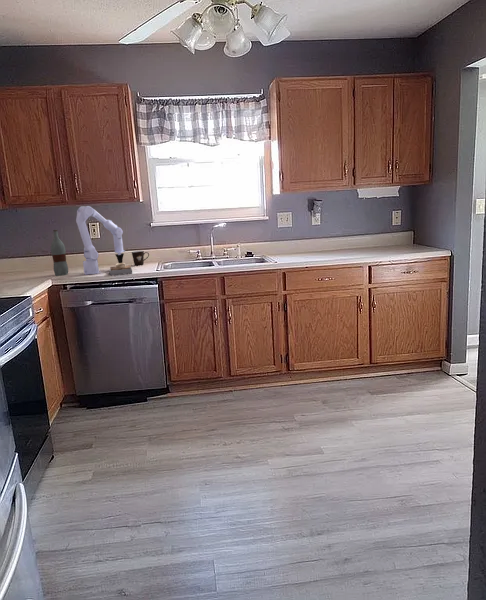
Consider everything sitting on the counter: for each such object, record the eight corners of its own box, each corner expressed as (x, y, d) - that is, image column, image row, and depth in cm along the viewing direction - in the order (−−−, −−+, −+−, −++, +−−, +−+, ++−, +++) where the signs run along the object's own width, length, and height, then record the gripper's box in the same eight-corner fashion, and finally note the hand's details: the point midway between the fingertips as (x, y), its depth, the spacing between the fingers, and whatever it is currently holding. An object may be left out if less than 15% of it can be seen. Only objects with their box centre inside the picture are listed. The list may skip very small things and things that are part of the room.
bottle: (61, 273, 318) (55, 229, 312) (72, 273, 315) (65, 228, 308) (51, 275, 310) (44, 230, 303) (62, 275, 306) (55, 230, 300)
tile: (116, 268, 310) (115, 264, 309) (116, 267, 315) (115, 263, 315) (125, 267, 311) (124, 263, 310) (125, 266, 317) (124, 262, 316)
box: (109, 275, 297) (109, 270, 296) (110, 273, 307) (109, 268, 306) (132, 273, 300) (131, 268, 299) (131, 271, 310) (131, 266, 309)
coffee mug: (131, 266, 334) (130, 252, 332) (134, 264, 342) (133, 250, 340) (147, 265, 333) (146, 251, 331) (150, 263, 342) (148, 250, 339)
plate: (110, 273, 307) (109, 269, 307) (110, 270, 319) (110, 266, 318) (131, 271, 310) (131, 267, 310) (131, 268, 322) (131, 265, 321)
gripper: (124, 245, 313) (126, 265, 316) (124, 243, 327) (126, 262, 330) (113, 245, 311) (116, 266, 314) (114, 244, 325) (116, 263, 328)
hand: (120, 264), depth 322 cm, fingers closed
